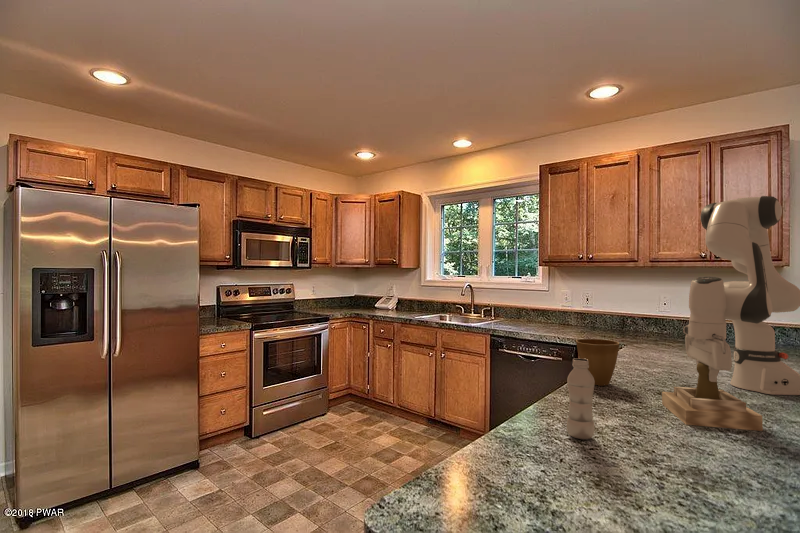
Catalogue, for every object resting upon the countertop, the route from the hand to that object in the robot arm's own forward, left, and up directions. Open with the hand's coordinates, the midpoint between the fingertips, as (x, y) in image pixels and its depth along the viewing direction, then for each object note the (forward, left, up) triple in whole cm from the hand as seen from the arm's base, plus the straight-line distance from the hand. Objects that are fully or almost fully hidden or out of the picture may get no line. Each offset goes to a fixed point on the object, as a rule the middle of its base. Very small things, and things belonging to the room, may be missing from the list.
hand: (707, 378), depth 121 cm
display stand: (0, 0, -11) cm, 11 cm away
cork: (0, 0, -6) cm, 7 cm away
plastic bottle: (+39, +26, -11) cm, 48 cm away
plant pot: (+24, -30, -11) cm, 40 cm away
